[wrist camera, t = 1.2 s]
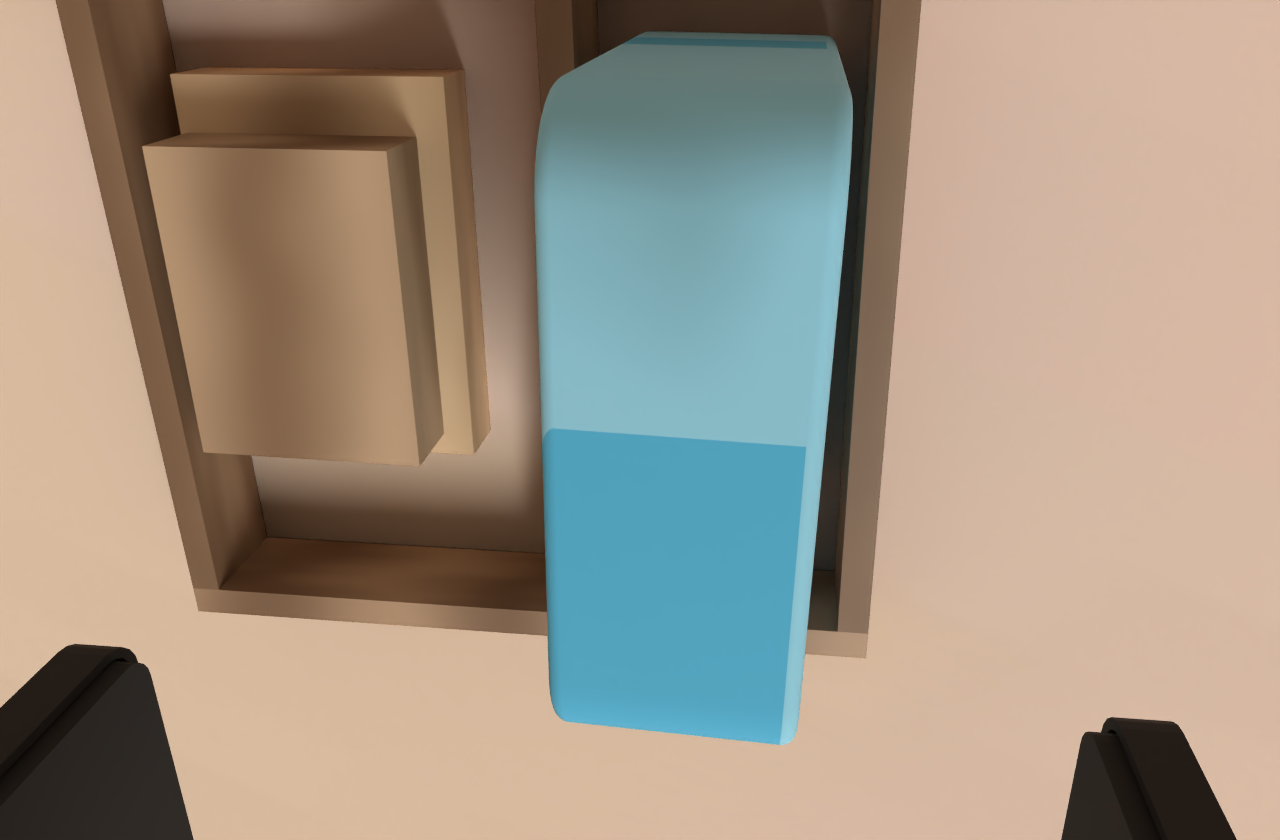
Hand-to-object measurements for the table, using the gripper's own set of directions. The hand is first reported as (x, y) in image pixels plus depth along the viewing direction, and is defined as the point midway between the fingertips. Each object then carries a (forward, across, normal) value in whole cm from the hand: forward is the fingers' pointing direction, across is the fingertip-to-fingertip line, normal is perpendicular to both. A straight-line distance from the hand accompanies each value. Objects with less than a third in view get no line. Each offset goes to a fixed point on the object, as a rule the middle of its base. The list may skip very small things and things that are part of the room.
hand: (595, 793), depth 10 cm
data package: (+19, 0, 0) cm, 19 cm away
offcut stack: (+19, +10, 0) cm, 22 cm away
